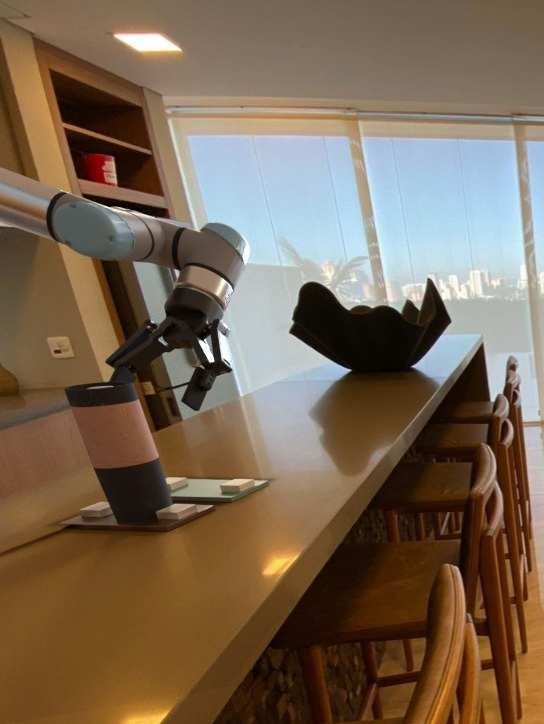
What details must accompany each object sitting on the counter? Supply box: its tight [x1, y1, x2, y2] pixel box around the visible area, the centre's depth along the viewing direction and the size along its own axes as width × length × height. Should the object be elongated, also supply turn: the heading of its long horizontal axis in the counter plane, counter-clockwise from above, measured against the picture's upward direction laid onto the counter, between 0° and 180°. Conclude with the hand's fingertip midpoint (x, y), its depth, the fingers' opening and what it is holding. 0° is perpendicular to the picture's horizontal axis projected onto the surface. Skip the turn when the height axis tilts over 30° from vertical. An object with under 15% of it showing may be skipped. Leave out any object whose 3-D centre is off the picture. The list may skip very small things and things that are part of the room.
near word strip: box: [59, 501, 216, 533], centre depth 88 cm, size 18×9×2 cm, turn 85°
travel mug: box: [64, 381, 174, 523], centre depth 85 cm, size 8×8×20 cm
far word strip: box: [165, 476, 270, 503], centre depth 100 cm, size 18×9×2 cm, turn 85°
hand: (149, 406), depth 89 cm, fingers open, 13 cm apart
